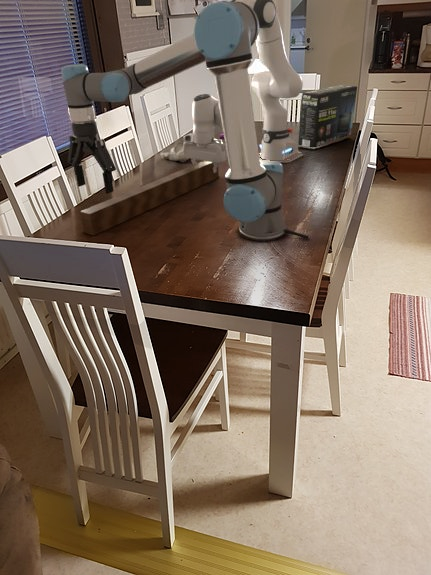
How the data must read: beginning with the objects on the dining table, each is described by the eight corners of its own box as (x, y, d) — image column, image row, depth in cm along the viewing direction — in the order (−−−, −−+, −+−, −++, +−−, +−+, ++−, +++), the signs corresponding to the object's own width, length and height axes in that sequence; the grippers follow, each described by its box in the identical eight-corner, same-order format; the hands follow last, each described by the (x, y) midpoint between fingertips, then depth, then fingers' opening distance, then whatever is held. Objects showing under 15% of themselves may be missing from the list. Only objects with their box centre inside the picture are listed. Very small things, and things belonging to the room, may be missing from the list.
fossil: (184, 156, 217) (163, 136, 220) (174, 174, 223) (154, 154, 227) (205, 153, 231) (186, 134, 234) (195, 171, 237) (176, 152, 240)
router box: (314, 151, 231) (318, 94, 217) (296, 148, 237) (299, 92, 224) (352, 138, 251) (358, 85, 238) (335, 135, 258) (340, 83, 245)
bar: (93, 235, 152) (89, 214, 148) (84, 232, 155) (80, 211, 151) (218, 177, 201) (218, 160, 197) (210, 175, 203) (209, 158, 199)
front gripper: (121, 122, 135) (130, 191, 146) (67, 115, 148) (79, 179, 159) (102, 127, 130) (113, 199, 141) (47, 119, 143) (62, 185, 154)
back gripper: (229, 138, 185) (229, 172, 192) (189, 133, 196) (191, 165, 203) (219, 141, 181) (220, 176, 188) (180, 136, 191) (182, 169, 198)
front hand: (95, 188), depth 150 cm, fingers open, 13 cm apart
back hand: (205, 170), depth 195 cm, fingers open, 8 cm apart
